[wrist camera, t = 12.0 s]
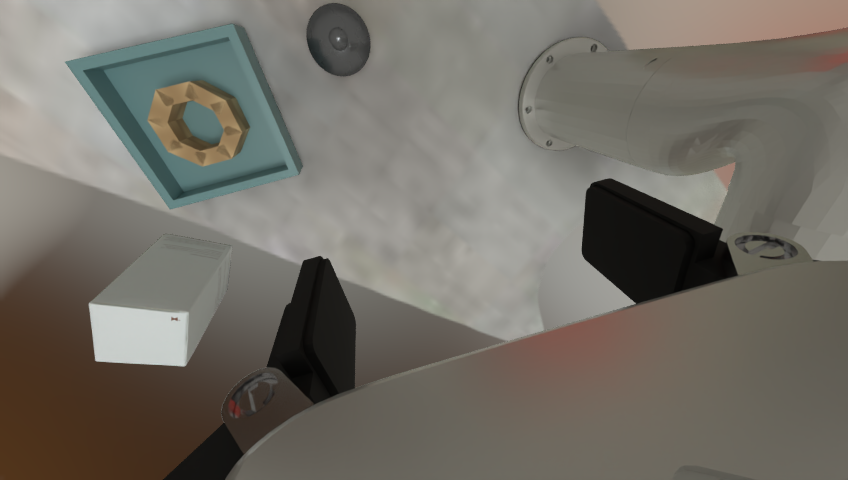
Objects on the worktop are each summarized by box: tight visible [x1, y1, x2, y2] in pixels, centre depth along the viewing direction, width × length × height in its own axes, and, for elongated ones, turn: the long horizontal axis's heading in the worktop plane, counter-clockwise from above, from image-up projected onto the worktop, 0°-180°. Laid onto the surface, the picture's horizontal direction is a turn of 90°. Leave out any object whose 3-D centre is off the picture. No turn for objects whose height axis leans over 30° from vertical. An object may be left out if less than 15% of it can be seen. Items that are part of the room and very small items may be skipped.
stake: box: [307, 3, 370, 76], centre depth 29 cm, size 6×6×5 cm
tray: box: [65, 24, 303, 209], centre depth 31 cm, size 14×14×3 cm
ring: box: [148, 80, 250, 167], centre depth 30 cm, size 7×7×3 cm
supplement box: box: [89, 234, 232, 366], centre depth 34 cm, size 7×7×13 cm
